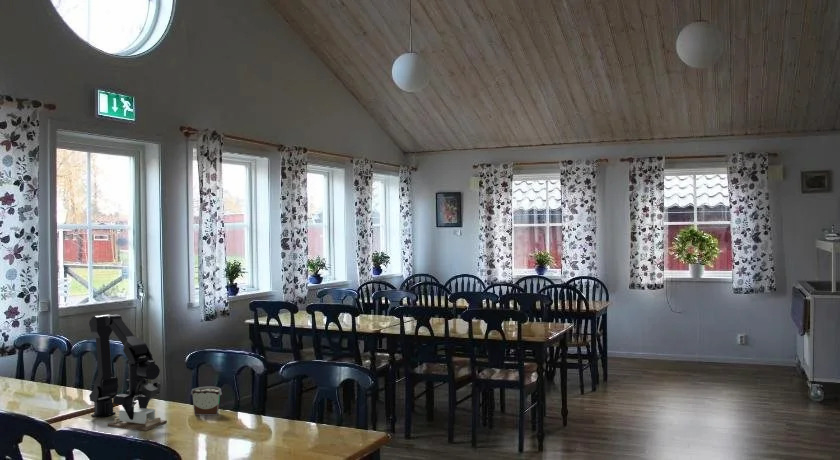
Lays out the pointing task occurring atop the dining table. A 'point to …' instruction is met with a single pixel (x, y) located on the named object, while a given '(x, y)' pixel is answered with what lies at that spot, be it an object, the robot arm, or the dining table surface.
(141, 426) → the dock
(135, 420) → the shell
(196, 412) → the food container
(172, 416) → the dining table surface
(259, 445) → the dining table surface
